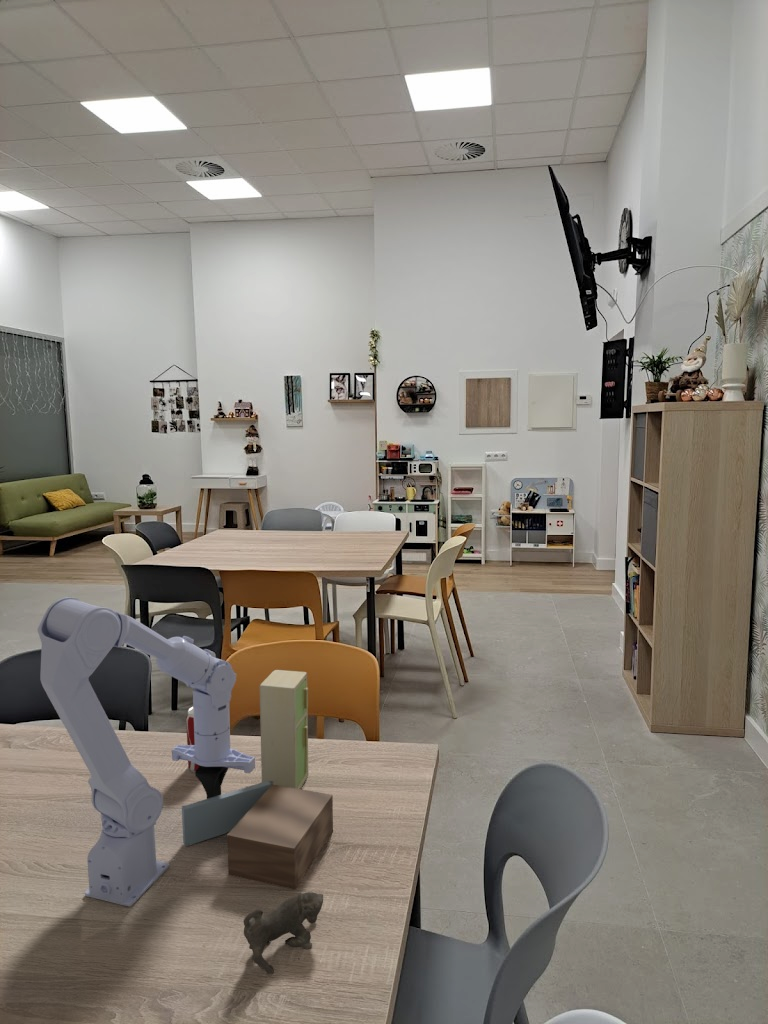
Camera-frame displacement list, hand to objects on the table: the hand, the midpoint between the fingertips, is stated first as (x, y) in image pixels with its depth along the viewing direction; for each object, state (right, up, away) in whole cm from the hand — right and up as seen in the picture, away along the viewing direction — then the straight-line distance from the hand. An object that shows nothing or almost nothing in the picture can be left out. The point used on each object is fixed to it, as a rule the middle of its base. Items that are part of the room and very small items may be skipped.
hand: (214, 805), depth 115 cm
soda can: (-8, -2, +21) cm, 22 cm away
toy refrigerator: (+10, -2, +14) cm, 18 cm away
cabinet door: (+3, -4, 0) cm, 5 cm away
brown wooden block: (+12, -5, -6) cm, 15 cm away
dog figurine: (+16, -8, -25) cm, 31 cm away
